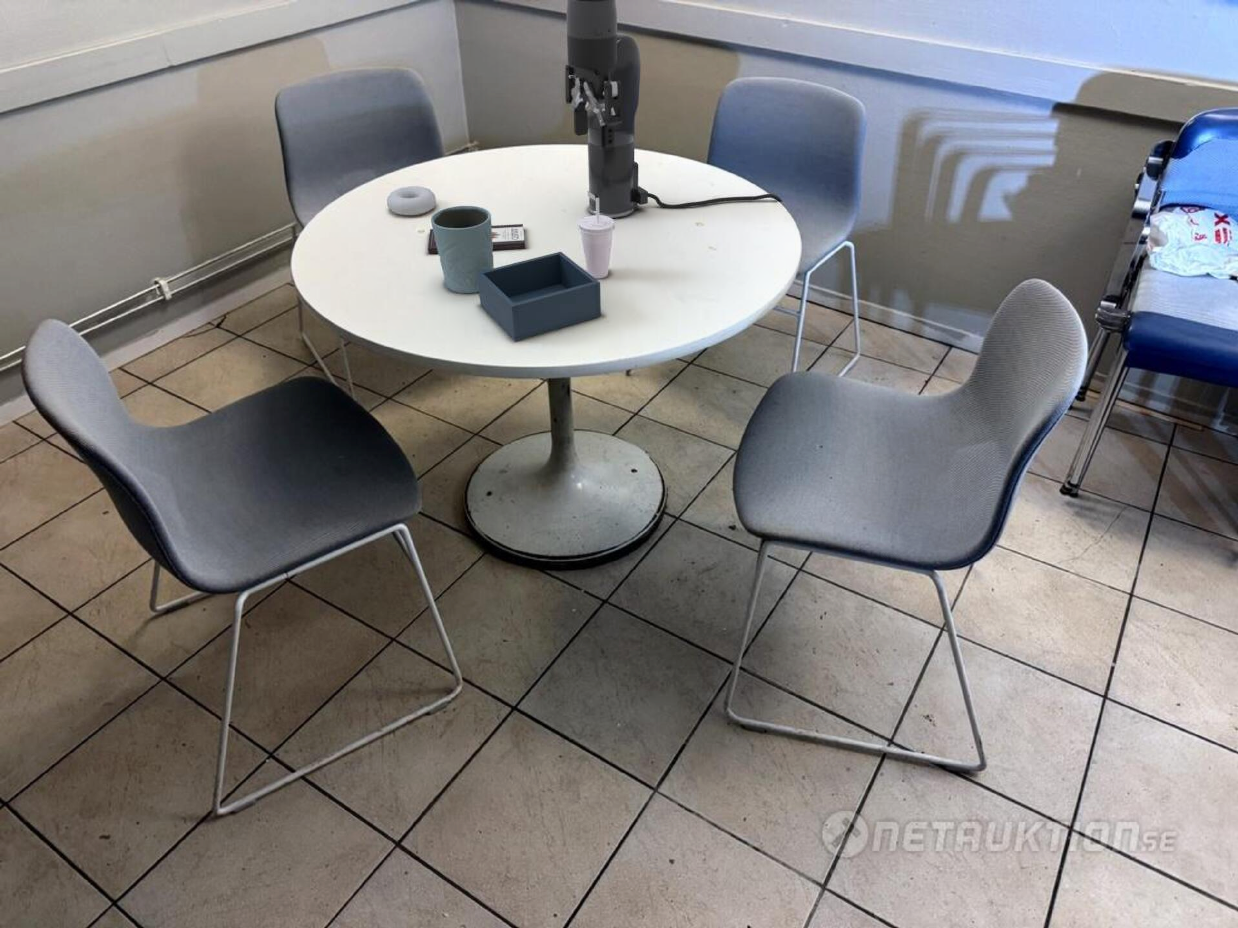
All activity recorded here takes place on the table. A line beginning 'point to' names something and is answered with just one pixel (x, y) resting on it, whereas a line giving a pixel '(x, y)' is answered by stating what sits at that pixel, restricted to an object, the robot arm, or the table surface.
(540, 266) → the basin
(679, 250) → the table surface
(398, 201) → the donut
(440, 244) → the blue-green cup
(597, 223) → the smoothie
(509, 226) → the chocolate bar
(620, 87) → the robot arm
